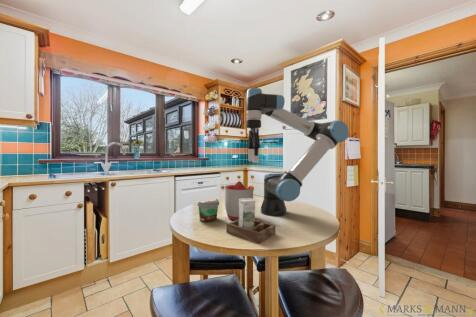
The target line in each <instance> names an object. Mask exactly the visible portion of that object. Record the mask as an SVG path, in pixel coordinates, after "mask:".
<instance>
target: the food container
mask: <svg viewBox="0 0 476 317" xmlns="http://www.w3.org/2000/svg"><path fill="white" fill-rule="evenodd" d="M219 206H220V201H219V199H218V198H216V199H215V200H211V201H210V200H209V201H205V202H201V201H200V202H199V201H198V203H197V207H198V215H199V222H203V223H212V222H215V221H217V220H218V209H219Z"/></svg>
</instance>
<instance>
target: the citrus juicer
mask: <svg viewBox="0 0 476 317" xmlns="http://www.w3.org/2000/svg"><path fill="white" fill-rule="evenodd" d="M224 189H225V190H224V195H225V196H224V202H225V203H224V204H225V205H224V206H225V211H226V215H227V218H228V219H229V220H231V221H235V220H238V219H239V199H242V198H252V199H253V200H254V186H253V185H249V186H247V188H246V187H245V185H244V184H243V182H241V181H239V180H238V181H237V182H236V183H235V184H229V185H228V184H227V185H226V186H224Z"/></svg>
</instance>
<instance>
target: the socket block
mask: <svg viewBox="0 0 476 317" xmlns="http://www.w3.org/2000/svg"><path fill="white" fill-rule="evenodd" d="M238 220H239V219H238ZM238 220H232V221H229V222H228V223H226V234H229V235H232V236H235V237H238V238H242V239H245V240H247V241H250V242H253V243H257V244H259V245H260V244H262V243H263V242H265V241H266V240H268V239H270V238H271V237H272V238H273V236H275V235H276V225H275V224H271V223H268V222H263V221H260V220H255V224H254V227H252V228H250V229H247V228H244V227H240V226H238Z"/></svg>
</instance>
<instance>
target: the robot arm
mask: <svg viewBox="0 0 476 317" xmlns="http://www.w3.org/2000/svg"><path fill="white" fill-rule="evenodd" d="M245 99H246V112H245V115H246V121H245V126H246V128H247V129H250V130H249V131H248V141H247V142H248V143H247V149H248V152H247V154H248V157H247V158H248V162H252V163H255V164H257V163H258V164H259V158H260V157H259V155H260V154H259V153H260V152H259V151H260V148H261V144H260V132H259V131H260V128H261V127H262V115H265V116H267V117H269V118H271V119H274V120H276V121H278V122H280V123H282V124H283V125H285V126H288V127H290V128H293V129H294V130H295V131H299V132H301V133H302V134H303V135H304V136H306V137H308V138H309V139H311V140H313V141H314V142H313V143H312V144H311V145H310V146H309V147H308V148H307V150H306V151H305V152H304V153H303V154H302V155H301V157H299V158H298V160H297V161H296V162H295V163H294V165H293V166H292V167H291V168H290V169H289V170H284V171H283V173H265V174H264V178H263V181H264V182H263V201H262V203H261V205H260V213H261V214H263V215H265V216H274V217H276V216H277V217H279V216H284V215H286V214H287V206H286V203H285V202H292V201H295V200H296V199H297V198H298V197H299V196H300V193H301V187H303V181H304V179H305V178H306V177H307V176H308V174H309V173H310V172H311V171H312V170H313V169H314V168H315V166H316V165H317V164H318V163H319V162H320V161H321V159H323V157H324V156H325V155H326V153H328V152H329V150H334V148H335V147H336V146H337V145H338V144H339V143H343V142H345V141H346V140H347V139H348V138H349V133H350V132H349V126H348V125H347V124H346V122H345V121H342V120H332V121H328V122H321V123H320V122H315V121H313V120H310V121H309V120H307V119H306V118H304V117H302V116H299V115H297V114H296V113H293V112H291V111H289V110H287V109H286V108H284V106H285V102H286V101H285V97H284V95H282V94H274V93H273V94H271V93H264V92H262V89H261V88H259V87H250V88H249V89H247V91H246V98H245Z"/></svg>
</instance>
